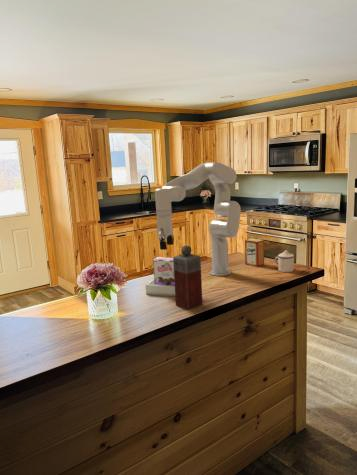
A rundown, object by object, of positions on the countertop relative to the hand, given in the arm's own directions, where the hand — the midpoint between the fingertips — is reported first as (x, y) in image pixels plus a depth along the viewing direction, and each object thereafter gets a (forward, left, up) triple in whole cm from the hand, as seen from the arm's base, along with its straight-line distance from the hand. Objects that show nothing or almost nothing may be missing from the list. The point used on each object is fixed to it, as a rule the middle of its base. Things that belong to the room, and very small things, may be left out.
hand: (166, 246), depth 190 cm
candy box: (0, 0, -23) cm, 23 cm away
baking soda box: (-57, +36, -24) cm, 71 cm away
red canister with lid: (+16, +15, -24) cm, 32 cm away
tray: (0, 0, -23) cm, 23 cm away
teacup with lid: (-48, +54, -24) cm, 75 cm away
